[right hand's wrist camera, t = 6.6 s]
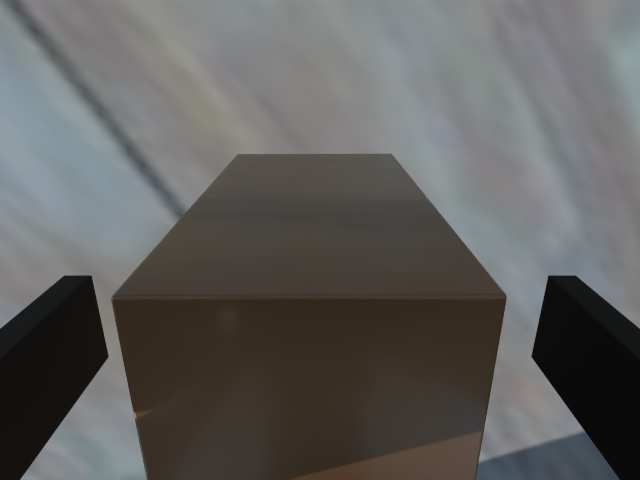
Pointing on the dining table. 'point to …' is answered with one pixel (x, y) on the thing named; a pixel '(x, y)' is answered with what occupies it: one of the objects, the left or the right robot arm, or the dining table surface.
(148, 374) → the bar
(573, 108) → the dining table surface
